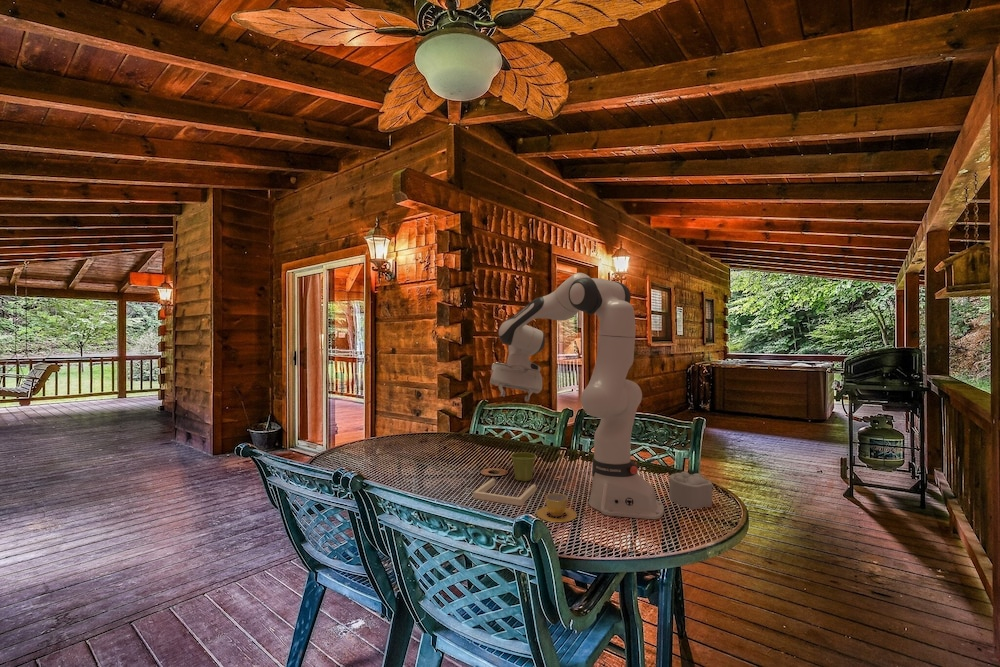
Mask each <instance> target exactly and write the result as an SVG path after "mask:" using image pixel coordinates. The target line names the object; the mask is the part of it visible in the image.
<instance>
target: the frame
mask: <svg viewBox="0 0 1000 667" xmlns="http://www.w3.org/2000/svg"><path fill="white" fill-rule="evenodd" d="M495 485H496V479H495V478H490V479H489V480H488V481H486V482H485V483H483V485H481V486H480V487H478V488H477V489H475V491H472V499H476V500H480V501H485V502H487V501H488V502H492V503H493V502H494V503H498V504H506V505H512V506H520V507H521V506H522V505H524V504H525V502H526V501H527V500H528V499H529V498H530V497H532V496H533V494H534V493H535V492H537V484H532V485H530V486H529V487H528V488H527V489H526V490H525V491H524V492H523V493H522V494H521V495H520V496H519V497H515V496H509V495H502V494H498V493H497V494H496V493H489V492H487V491H489V490H490V489H491V488H493V487H494V486H495Z"/></svg>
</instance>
